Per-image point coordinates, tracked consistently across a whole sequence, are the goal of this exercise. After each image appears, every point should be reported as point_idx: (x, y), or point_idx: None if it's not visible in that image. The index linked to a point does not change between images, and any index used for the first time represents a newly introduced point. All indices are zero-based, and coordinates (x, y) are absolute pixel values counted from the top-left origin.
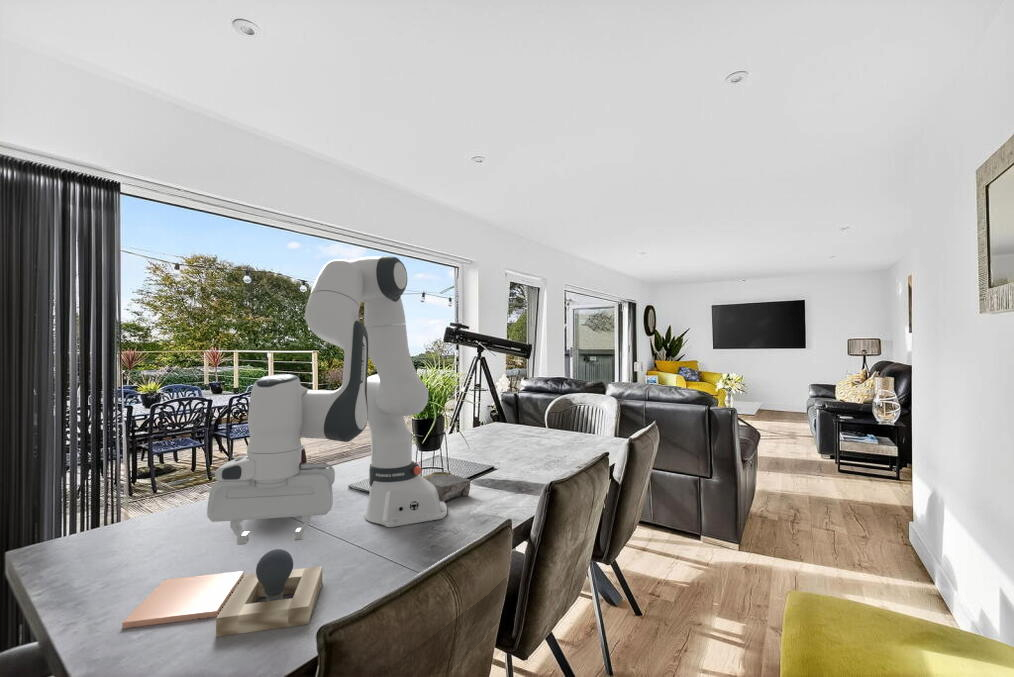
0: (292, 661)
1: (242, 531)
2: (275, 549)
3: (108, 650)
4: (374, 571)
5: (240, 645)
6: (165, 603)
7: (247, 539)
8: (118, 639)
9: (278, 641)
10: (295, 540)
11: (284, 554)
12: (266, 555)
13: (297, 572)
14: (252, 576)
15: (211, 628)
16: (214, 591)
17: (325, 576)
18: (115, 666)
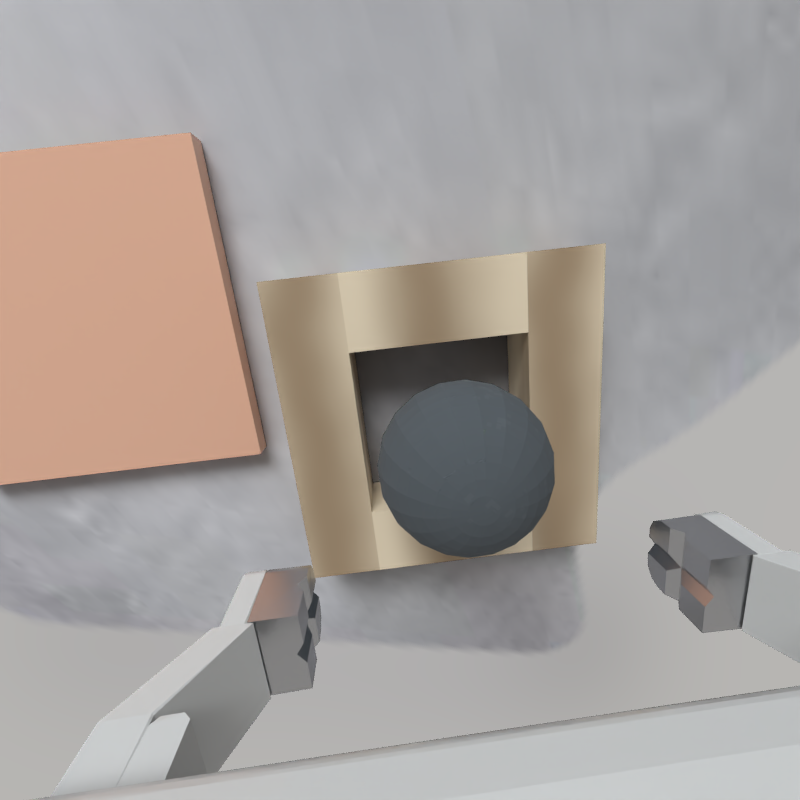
0: (557, 636)
1: (250, 666)
2: (476, 480)
3: (53, 567)
4: (782, 188)
5: (409, 577)
6: (28, 386)
7: (310, 603)
8: (35, 526)
9: (504, 571)
10: (652, 570)
11: (537, 510)
12: (442, 533)
13: (500, 292)
14: (302, 303)
15: (286, 502)
16: (167, 318)
17: (578, 204)
18: (133, 623)
